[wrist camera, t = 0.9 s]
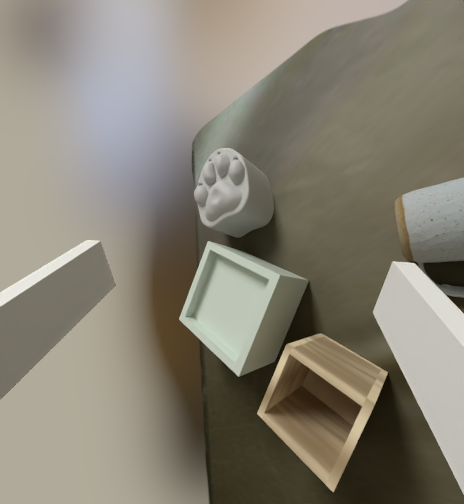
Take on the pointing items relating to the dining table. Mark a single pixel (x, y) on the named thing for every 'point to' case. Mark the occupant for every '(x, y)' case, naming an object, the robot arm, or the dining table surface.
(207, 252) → the pale green square box
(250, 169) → the lumpy-topped squat cylinder
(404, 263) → the robot arm
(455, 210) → the ceramic mug
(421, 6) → the dining table surface
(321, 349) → the birch crate
